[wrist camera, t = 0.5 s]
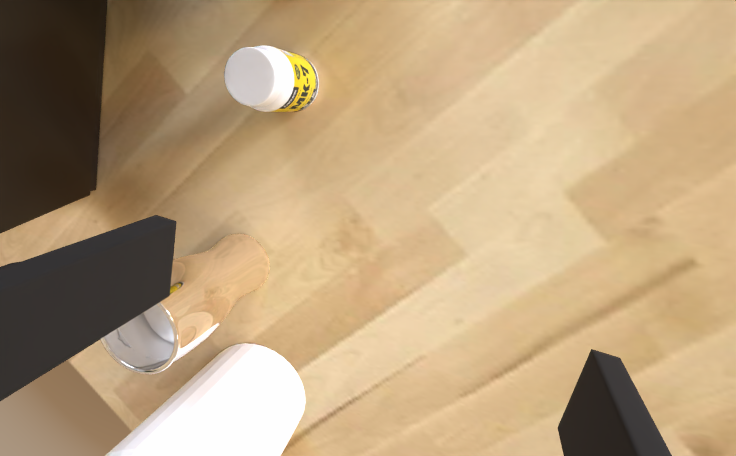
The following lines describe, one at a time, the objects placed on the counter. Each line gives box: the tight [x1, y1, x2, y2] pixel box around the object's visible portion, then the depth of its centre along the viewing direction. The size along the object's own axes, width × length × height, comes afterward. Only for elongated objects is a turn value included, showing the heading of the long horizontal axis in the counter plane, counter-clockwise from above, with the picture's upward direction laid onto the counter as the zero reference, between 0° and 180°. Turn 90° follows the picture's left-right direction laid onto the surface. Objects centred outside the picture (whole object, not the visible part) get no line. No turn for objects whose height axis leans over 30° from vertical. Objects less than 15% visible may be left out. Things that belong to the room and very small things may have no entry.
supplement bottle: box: [224, 45, 319, 112], centre depth 36 cm, size 5×5×8 cm
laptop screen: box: [0, 0, 101, 233], centre depth 31 cm, size 22×31×1 cm
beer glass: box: [100, 234, 270, 374], centre depth 39 cm, size 7×7×15 cm
